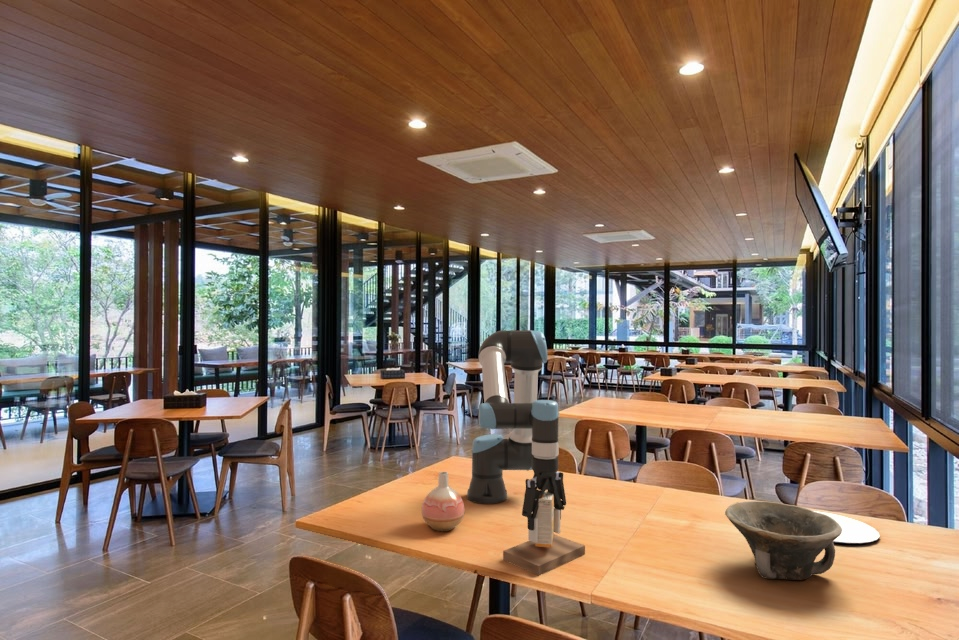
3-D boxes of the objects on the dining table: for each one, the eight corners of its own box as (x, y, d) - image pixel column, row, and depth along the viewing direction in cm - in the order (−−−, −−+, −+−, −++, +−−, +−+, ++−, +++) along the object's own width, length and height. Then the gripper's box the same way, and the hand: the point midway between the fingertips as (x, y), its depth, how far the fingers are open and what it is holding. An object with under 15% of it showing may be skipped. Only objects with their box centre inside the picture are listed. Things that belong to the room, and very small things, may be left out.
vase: (431, 539, 165) (431, 480, 165) (415, 524, 177) (415, 470, 177) (471, 531, 171) (472, 475, 171) (453, 518, 183) (453, 465, 183)
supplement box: (552, 548, 148) (552, 499, 148) (534, 546, 148) (534, 498, 149) (554, 536, 156) (554, 491, 156) (537, 535, 157) (537, 490, 157)
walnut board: (549, 541, 164) (549, 532, 164) (585, 554, 154) (585, 545, 154) (503, 559, 150) (503, 550, 150) (538, 575, 140) (538, 566, 140)
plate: (867, 522, 182) (867, 517, 182) (891, 554, 156) (891, 548, 156) (769, 509, 194) (769, 505, 194) (776, 537, 168) (776, 532, 168)
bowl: (793, 606, 125) (793, 541, 126) (704, 561, 150) (704, 507, 150) (866, 585, 136) (866, 525, 136) (772, 546, 160) (772, 495, 161)
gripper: (558, 448, 163) (558, 523, 162) (508, 459, 148) (508, 542, 147) (579, 452, 157) (579, 530, 157) (528, 464, 142) (528, 551, 142)
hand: (544, 536), depth 152 cm, fingers closed on supplement box, 9 cm apart
